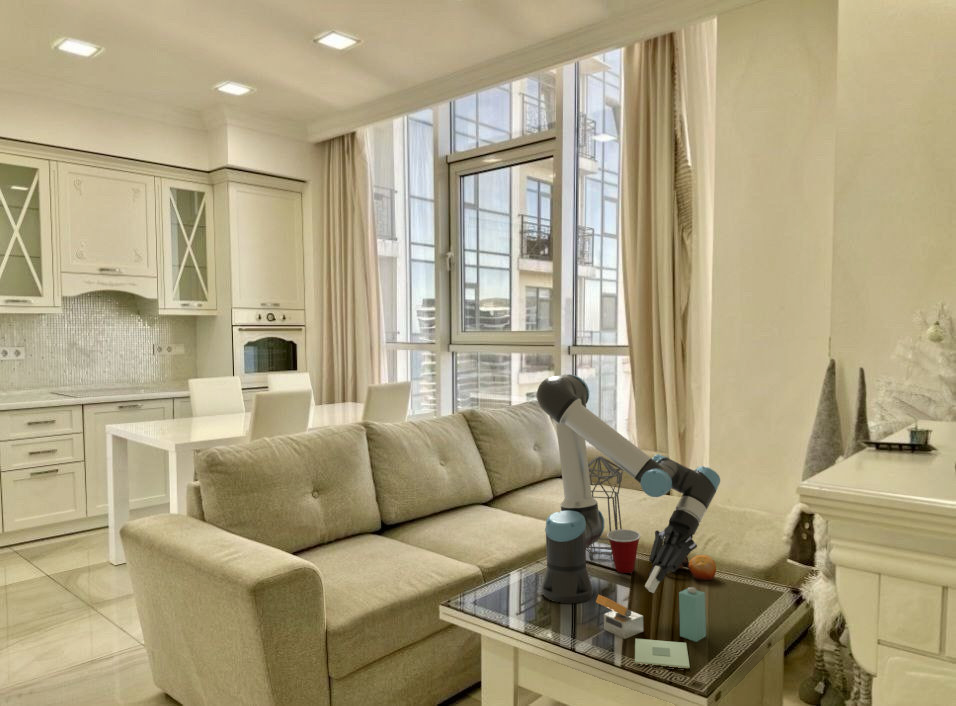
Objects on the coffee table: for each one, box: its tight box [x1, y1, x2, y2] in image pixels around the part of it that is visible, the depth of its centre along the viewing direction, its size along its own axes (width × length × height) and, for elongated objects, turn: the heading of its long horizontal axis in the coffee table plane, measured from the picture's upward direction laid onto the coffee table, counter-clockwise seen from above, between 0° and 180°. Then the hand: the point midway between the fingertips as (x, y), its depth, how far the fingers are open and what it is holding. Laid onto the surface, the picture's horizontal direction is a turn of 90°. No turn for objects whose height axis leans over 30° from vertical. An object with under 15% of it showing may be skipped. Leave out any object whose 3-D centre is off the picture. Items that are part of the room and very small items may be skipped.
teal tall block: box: [678, 586, 707, 643], centre depth 163 cm, size 4×4×12 cm
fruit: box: [688, 554, 717, 581], centre depth 203 cm, size 8×8×8 cm
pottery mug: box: [677, 556, 692, 573], centre depth 211 cm, size 12×10×8 cm
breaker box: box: [603, 610, 644, 640], centre depth 167 cm, size 7×7×4 cm
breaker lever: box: [595, 594, 632, 617], centre depth 165 cm, size 2×4×10 cm
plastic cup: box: [606, 528, 641, 574], centre depth 212 cm, size 11×11×12 cm
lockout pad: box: [634, 638, 691, 669], centre depth 153 cm, size 12×12×1 cm
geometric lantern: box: [586, 455, 624, 561], centre depth 227 cm, size 16×16×35 cm
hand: (649, 589), depth 173 cm, fingers closed
